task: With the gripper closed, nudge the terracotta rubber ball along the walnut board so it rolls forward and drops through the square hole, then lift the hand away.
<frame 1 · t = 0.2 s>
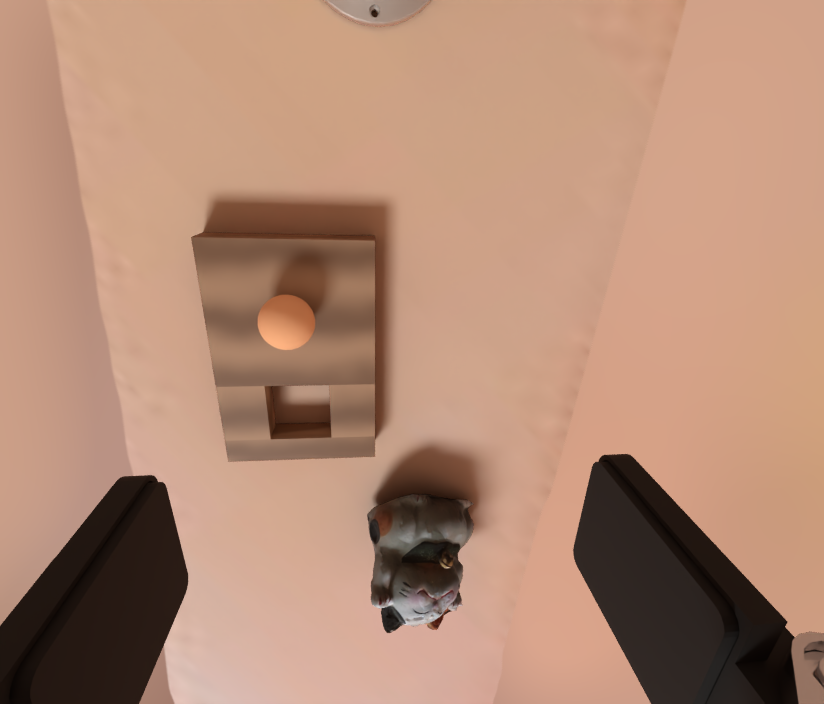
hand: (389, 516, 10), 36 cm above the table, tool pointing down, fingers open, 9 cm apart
lucky cat figurine: (420, 519, 57), on the table
ball: (286, 322, 39), point 5 cm above the table, touching board
board: (299, 349, 46), on the table
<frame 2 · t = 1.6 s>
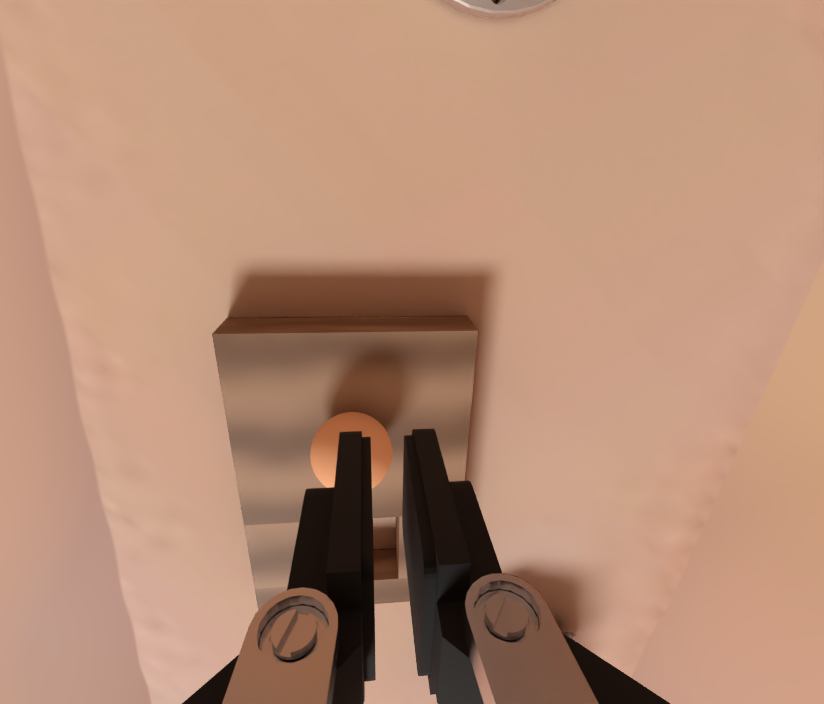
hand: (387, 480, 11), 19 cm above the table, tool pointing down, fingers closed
ball: (351, 452, 26), point 5 cm above the table, touching board
board: (355, 463, 33), on the table
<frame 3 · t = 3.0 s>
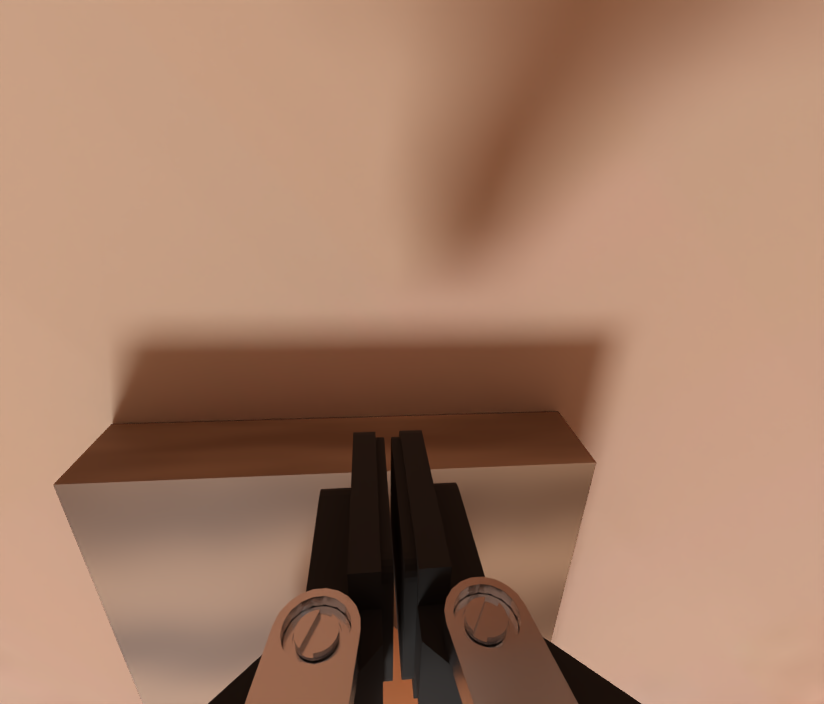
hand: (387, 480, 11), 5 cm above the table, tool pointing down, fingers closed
ball: (345, 703, 13), point 5 cm above the table, touching board
board: (355, 630, 20), on the table
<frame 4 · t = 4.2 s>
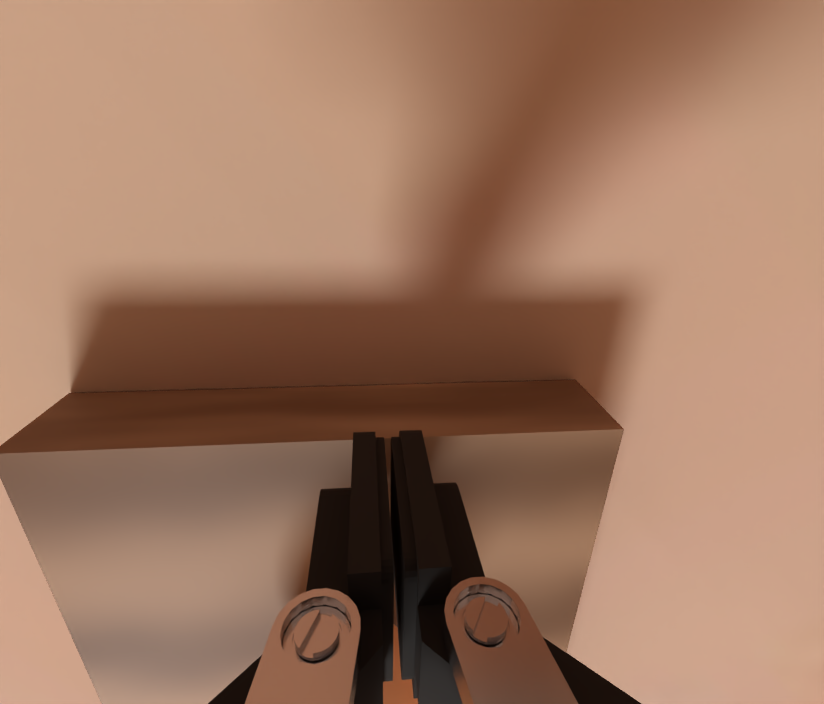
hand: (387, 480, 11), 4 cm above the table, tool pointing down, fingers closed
board: (350, 631, 18), on the table
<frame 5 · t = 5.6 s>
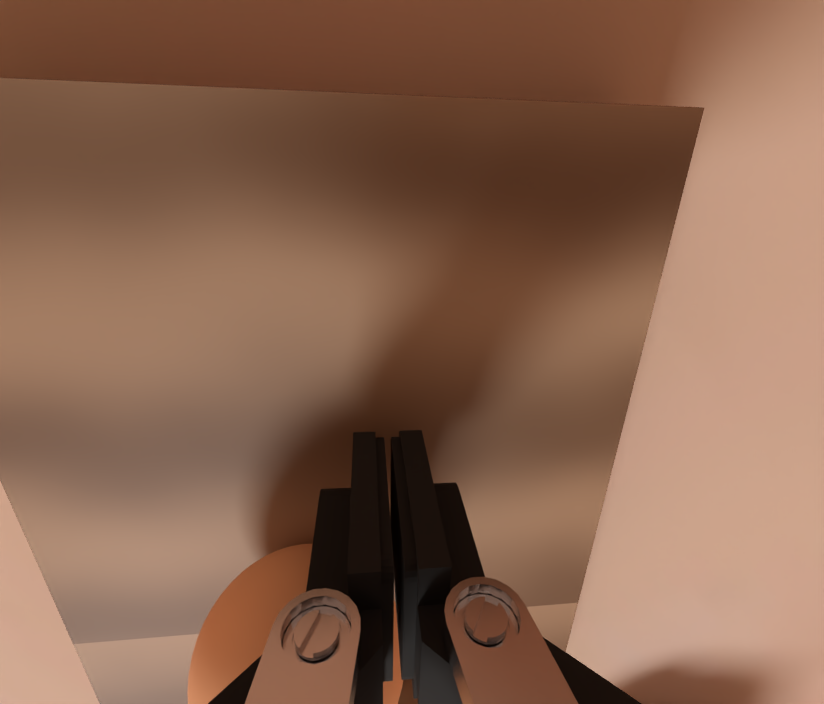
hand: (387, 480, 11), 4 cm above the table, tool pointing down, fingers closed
ball: (303, 655, 10), point 5 cm above the table, tilted 121°, touching board
board: (341, 490, 15), on the table
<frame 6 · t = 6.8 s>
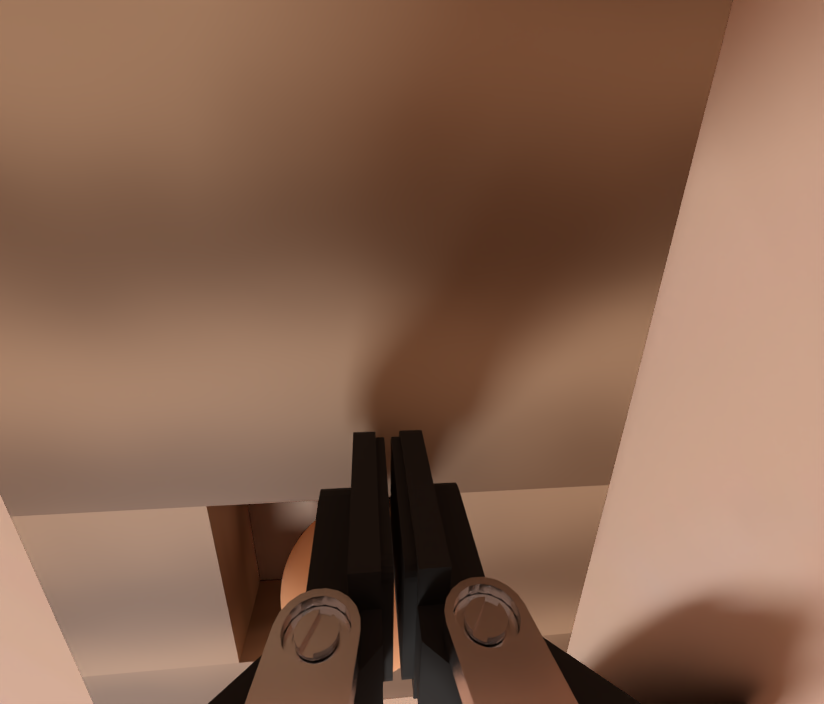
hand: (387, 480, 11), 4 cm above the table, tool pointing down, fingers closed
ball: (361, 584, 14), point 2 cm above the table, tilted 95°
board: (333, 362, 13), on the table
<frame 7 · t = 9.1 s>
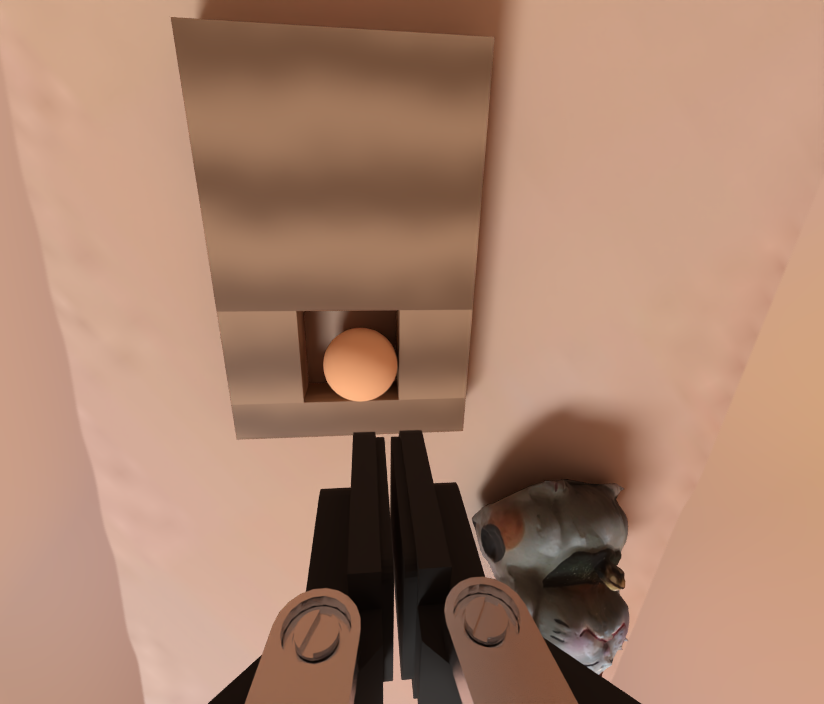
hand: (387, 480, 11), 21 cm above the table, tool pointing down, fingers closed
lucky cat figurine: (542, 518, 40), on the table
ball: (360, 364, 29), point 2 cm above the table, tilted 95°
board: (348, 258, 29), on the table
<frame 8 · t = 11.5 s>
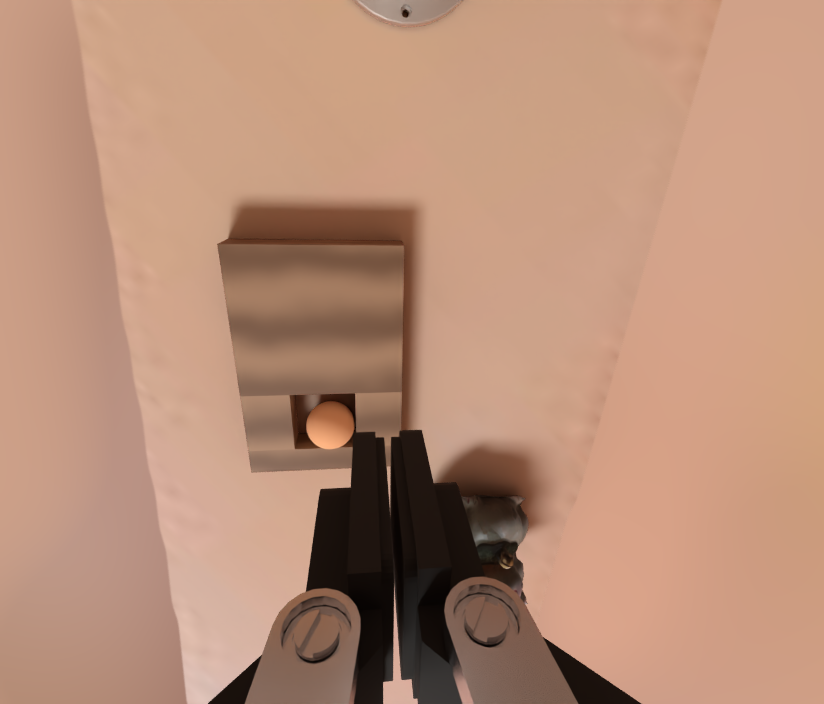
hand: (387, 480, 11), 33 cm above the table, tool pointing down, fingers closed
lucky cat figurine: (472, 520, 56), on the table
ball: (330, 424, 45), point 2 cm above the table, tilted 95°
board: (323, 357, 45), on the table
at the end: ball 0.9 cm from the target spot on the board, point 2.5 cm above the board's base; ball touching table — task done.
